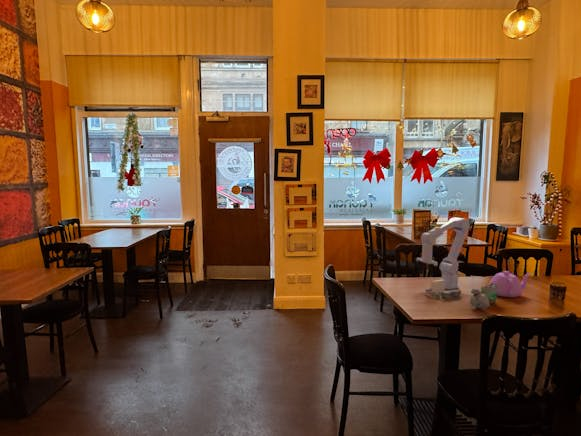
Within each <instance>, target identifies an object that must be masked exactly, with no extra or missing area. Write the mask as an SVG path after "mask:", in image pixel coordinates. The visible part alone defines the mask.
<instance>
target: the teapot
mask: <svg viewBox="0 0 581 436" xmlns="http://www.w3.org/2000/svg"><path fill="white" fill-rule="evenodd" d="M531 275H532V273H526V274H524V275H523V278H522V281H521V282H520V280H519V278H518V276H516V275H515V274H512V273H511V272H510V271H508V270H503V271H501V272H498V273H496V274H495V275H494V276H493V277H492V278H491V280H490V281H489V284H488V285H491V283H493V284H496V285H498V288H499V291H497V296H499V297H503V298H504V297H505V298H516V297H519V296H520V295H521V294H522V293H523V290H525V288H526V287H527V284H528V278H529V276H531Z"/></svg>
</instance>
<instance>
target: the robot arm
mask: <svg viewBox="0 0 581 436" xmlns="http://www.w3.org/2000/svg"><path fill="white" fill-rule="evenodd" d="M470 224H471V223H470V222H469V219H468V218H463V217H456V216H453V217H451V218H449V220H448V221H447V222H445V223H444V224H442V225H441V226H435V227H434V228H432V229H430V230H428V231H427V232H423V233H422V234H421V236H420V241H421V245H422V248H421V249H422V250H421V257H416V261H415V263H416V265H417V268H418V272H419V274H420V275H422V274H424V267H425V264H428V265H427V267H428V271H429V272H428V274H429V275H428V276H429V277H430V278H431V277H433V276H434V273H435V271H436V270H437V268H438V261H435V260H433V245H434V244H433V243H435V241H436V239H438V238H440V237H441V236H443V235H444V232H446V231H448V230H450V229H453V230H454V231H455V234H456V235H455V237H454V240H453V242H452V245H451V247H450V250H449V252H448V255H447V256H446V257H444V258H443V259H442V261H441V262H440V264H439V270H440V271H441V280H445V284H444V290H447V291H450V290H455V289H459V285H458V284H459V276H458V274H457V273H458V271H459V265H460V263H459V262H458V257H459V255H460V252H461V250H462V247H463V244H464V243H465V240H466V237H467V234H468V230H469V227H470Z"/></svg>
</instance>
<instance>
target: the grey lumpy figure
mask: <svg viewBox="0 0 581 436" xmlns="http://www.w3.org/2000/svg"><path fill="white" fill-rule="evenodd" d="M470 294H471V296H470V300H469V304H470V305H471V306H472V307H474V308H477V309H479V310H485V309H487V308H489V307H490V306H491V305H490V304H489V299H488V297H487V296H486V295H485V294H482V290H481V289H479V288H477V287H476V288H472V289H471V290H470Z"/></svg>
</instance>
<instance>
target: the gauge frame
mask: <svg viewBox="0 0 581 436" xmlns="http://www.w3.org/2000/svg"><path fill="white" fill-rule="evenodd" d="M461 292H462V291H461V290H460V289H458V288H454V289H449V290H444V292H438V293H436V292H433V291H426V290H425V291H424V295H425V296H427V297H430V298H433V299H435V300H441V301H444V302H445V301H450V300H454V299H460V298H462V296H461Z"/></svg>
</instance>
